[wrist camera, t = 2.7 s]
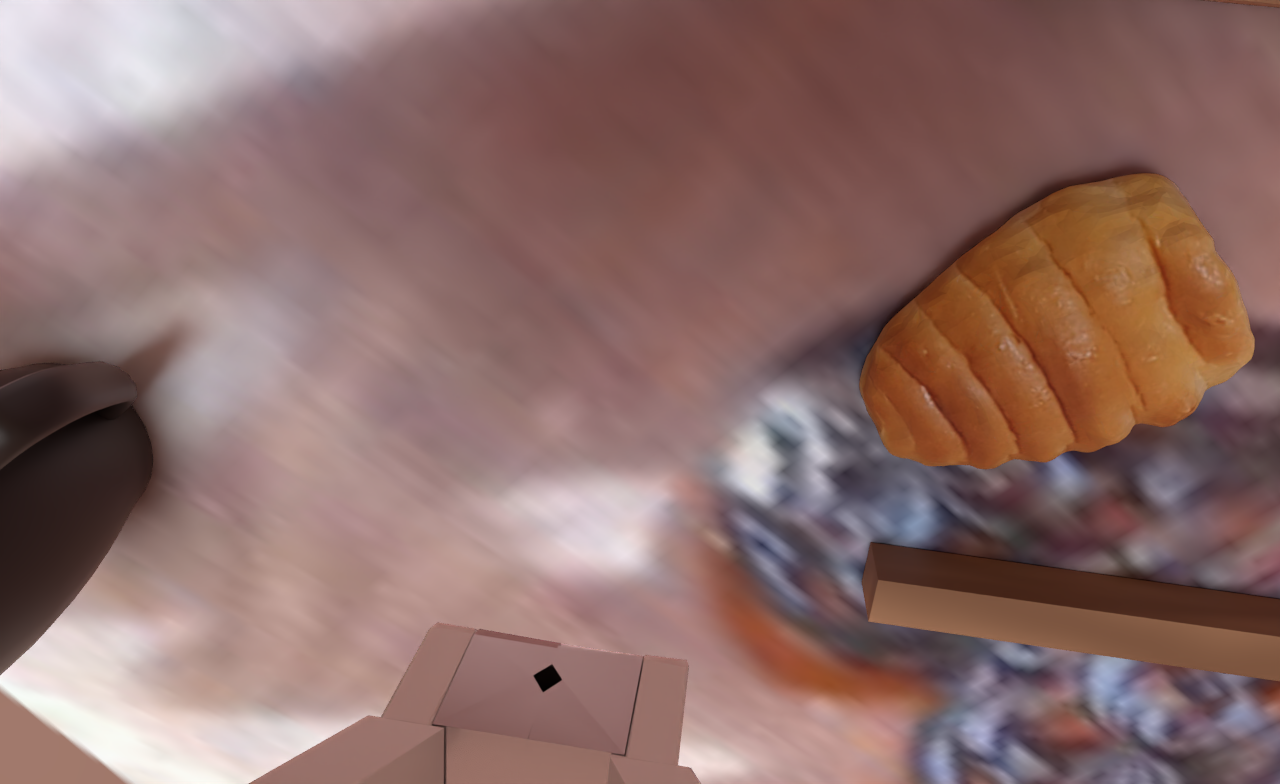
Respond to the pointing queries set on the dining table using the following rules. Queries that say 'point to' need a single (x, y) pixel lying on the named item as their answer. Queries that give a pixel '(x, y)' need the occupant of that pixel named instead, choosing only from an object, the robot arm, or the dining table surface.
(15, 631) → the mug
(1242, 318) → the pastry
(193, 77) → the dining table surface
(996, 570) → the guide channel
